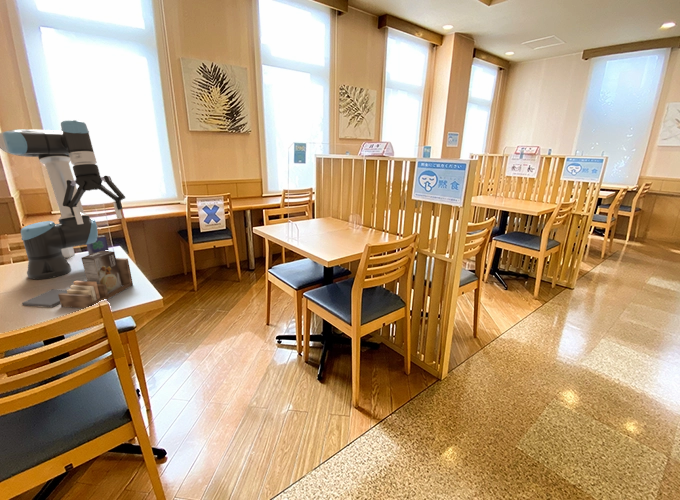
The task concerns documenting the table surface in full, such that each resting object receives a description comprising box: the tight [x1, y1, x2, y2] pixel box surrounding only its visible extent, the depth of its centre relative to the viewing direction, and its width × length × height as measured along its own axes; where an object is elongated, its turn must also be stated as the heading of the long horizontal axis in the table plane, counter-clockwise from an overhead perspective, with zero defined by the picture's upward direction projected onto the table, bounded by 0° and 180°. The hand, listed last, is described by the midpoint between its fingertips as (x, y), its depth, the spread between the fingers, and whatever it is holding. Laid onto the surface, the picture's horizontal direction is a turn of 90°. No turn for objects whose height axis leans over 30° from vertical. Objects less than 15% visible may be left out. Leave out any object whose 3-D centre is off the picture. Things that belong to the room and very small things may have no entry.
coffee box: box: [80, 250, 122, 294], centre depth 130 cm, size 9×6×16 cm
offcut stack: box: [66, 280, 100, 302], centre depth 121 cm, size 8×4×8 cm, turn 84°
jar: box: [61, 247, 75, 259], centre depth 170 cm, size 9×8×12 cm
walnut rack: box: [58, 257, 134, 309], centre depth 127 cm, size 12×21×12 cm, turn 174°
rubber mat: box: [21, 288, 68, 308], centre depth 125 cm, size 12×12×1 cm
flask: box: [86, 234, 110, 255], centre depth 176 cm, size 9×3×11 cm, turn 141°
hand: (100, 221), depth 124 cm, fingers open, 13 cm apart
